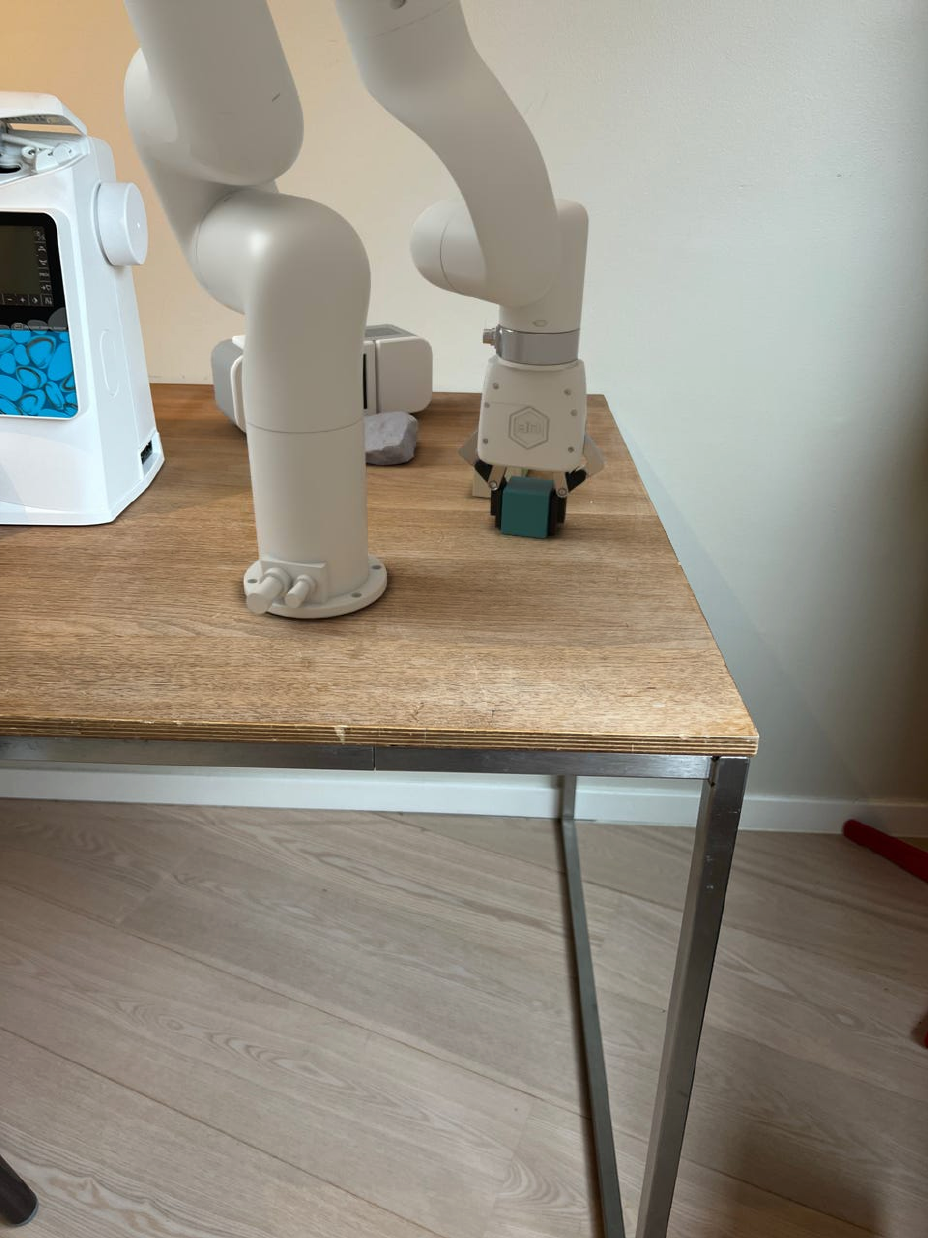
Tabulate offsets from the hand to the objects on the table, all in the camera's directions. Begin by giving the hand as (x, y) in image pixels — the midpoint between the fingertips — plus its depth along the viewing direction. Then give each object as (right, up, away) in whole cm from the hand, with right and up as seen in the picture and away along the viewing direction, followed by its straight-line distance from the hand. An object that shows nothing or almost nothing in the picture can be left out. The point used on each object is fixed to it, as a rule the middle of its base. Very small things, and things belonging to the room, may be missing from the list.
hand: (527, 523), depth 93 cm
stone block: (-18, +11, +19) cm, 29 cm away
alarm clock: (-25, +17, +29) cm, 42 cm away
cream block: (-3, +5, +9) cm, 10 cm away
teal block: (0, 0, 0) cm, 0 cm away
